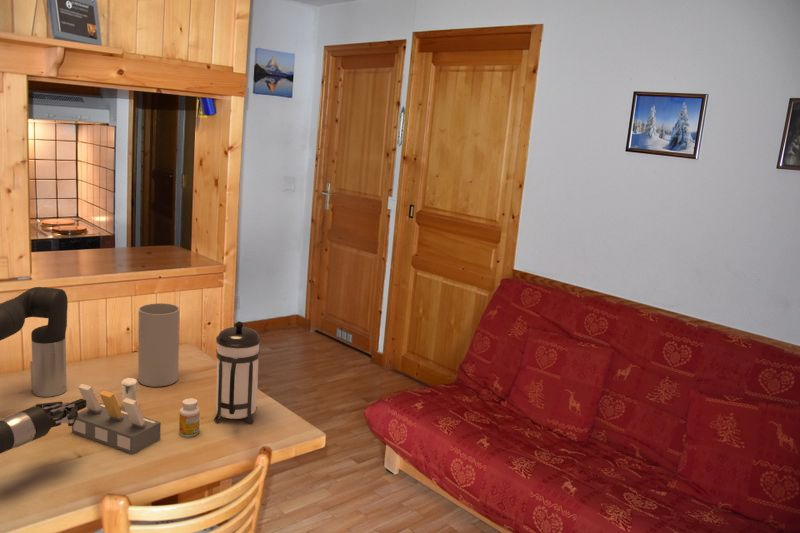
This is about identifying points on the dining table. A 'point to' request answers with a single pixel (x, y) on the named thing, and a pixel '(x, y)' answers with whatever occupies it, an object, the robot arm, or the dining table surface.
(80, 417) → the strip block
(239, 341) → the coffee press
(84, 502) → the dining table surface
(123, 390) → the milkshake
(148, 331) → the cylinder vase
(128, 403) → the rocker right
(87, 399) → the rocker left
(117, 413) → the rocker amber
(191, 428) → the supplement bottle
